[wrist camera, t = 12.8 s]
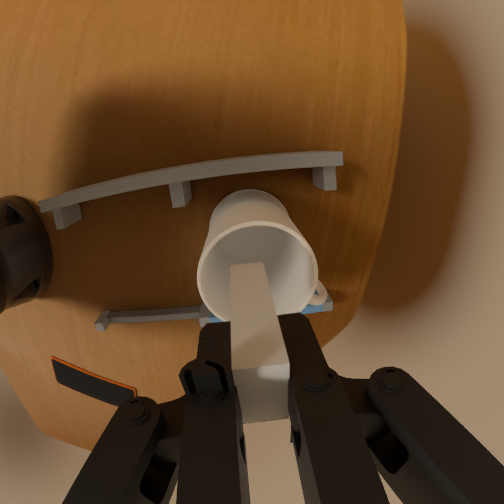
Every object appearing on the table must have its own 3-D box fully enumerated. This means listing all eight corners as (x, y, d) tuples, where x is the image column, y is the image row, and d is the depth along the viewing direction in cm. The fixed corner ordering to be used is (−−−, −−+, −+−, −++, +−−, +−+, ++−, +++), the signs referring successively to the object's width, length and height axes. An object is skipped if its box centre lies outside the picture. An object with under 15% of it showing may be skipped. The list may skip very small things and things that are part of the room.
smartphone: (136, 409, 40) (135, 413, 40) (58, 379, 38) (56, 382, 37) (136, 386, 38) (135, 390, 37) (51, 353, 35) (49, 356, 34)
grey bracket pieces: (106, 318, 32) (88, 345, 27) (68, 190, 26) (38, 201, 20) (325, 297, 33) (340, 325, 27) (321, 150, 26) (342, 151, 21)
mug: (327, 238, 30) (374, 290, 19) (278, 294, 32) (298, 365, 21) (241, 172, 27) (245, 188, 16) (193, 237, 29) (169, 292, 18)
